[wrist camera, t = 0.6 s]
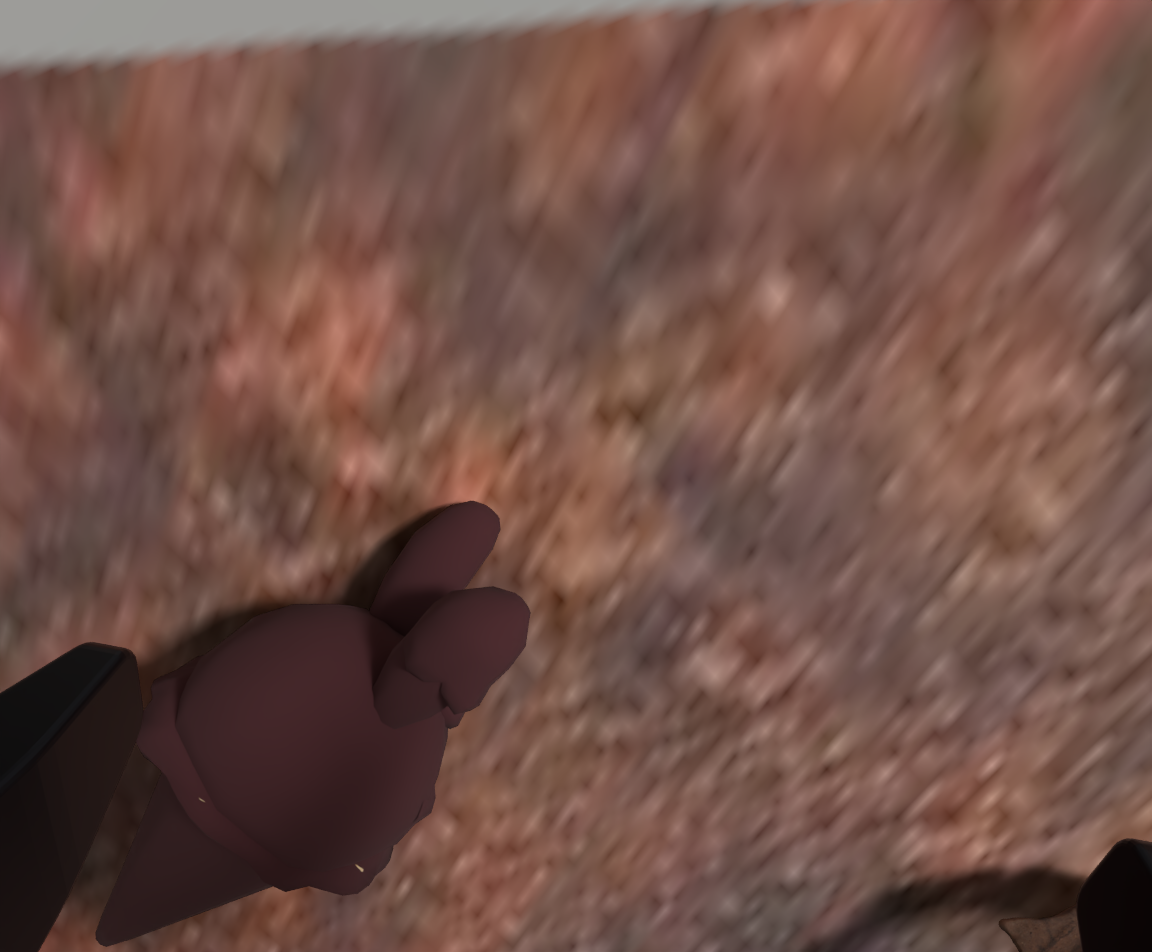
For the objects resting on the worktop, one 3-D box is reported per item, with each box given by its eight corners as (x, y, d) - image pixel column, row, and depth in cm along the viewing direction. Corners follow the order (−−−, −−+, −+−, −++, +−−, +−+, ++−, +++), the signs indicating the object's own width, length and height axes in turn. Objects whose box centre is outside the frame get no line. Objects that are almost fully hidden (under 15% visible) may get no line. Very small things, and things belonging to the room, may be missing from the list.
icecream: (211, 1116, 24) (654, 729, 21) (-94, 1027, 20) (389, 546, 17) (236, 881, 29) (583, 555, 27) (5, 780, 26) (375, 392, 23)
